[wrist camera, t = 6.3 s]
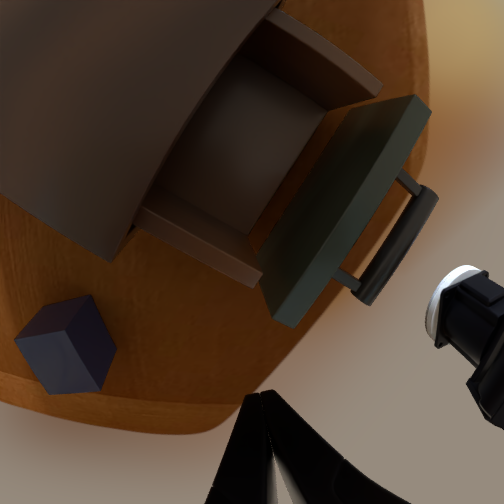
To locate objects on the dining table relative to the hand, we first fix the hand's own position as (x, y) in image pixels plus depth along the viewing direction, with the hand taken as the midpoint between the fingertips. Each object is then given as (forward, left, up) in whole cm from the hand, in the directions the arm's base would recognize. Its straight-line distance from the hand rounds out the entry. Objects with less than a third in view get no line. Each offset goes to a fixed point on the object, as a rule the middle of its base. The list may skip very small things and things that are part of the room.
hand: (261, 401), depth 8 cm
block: (-2, +13, -12) cm, 18 cm away
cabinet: (+14, +5, -12) cm, 19 cm away
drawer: (+6, -3, -11) cm, 13 cm away
